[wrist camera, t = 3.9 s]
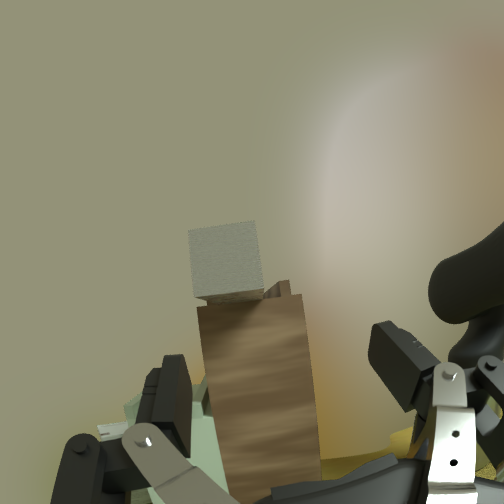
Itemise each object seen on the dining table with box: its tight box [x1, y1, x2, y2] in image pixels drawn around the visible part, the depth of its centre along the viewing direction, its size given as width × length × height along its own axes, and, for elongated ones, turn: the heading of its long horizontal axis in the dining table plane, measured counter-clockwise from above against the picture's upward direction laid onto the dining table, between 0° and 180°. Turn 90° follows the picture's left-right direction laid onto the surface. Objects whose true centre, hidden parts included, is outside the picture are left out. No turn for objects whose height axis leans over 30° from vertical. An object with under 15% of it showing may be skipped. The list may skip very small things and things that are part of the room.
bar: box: [188, 221, 264, 304], centre depth 29 cm, size 26×4×4 cm, turn 178°
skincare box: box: [97, 421, 152, 504], centre depth 32 cm, size 8×6×15 cm
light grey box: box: [124, 374, 229, 504], centre depth 29 cm, size 16×9×22 cm, turn 4°
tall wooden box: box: [197, 280, 322, 504], centre depth 31 cm, size 16×10×34 cm, turn 4°
